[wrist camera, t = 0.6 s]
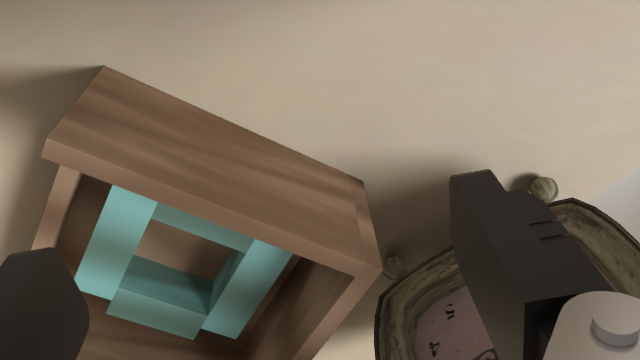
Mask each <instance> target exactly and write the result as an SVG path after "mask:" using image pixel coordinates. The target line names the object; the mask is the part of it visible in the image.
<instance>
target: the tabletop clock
mask: <svg viewBox="0 0 640 360" xmlns="http://www.w3.org/2000/svg"><path fill="white" fill-rule="evenodd" d="M530 192H531V194H532V195H533V196H535V197H537V198H539V199H540V200H542V201H544V202H545V203H546V205H547V206H548V207H549V208H550V210H551V211H552V212H553V213H554V215H555V216H556V217H557V218H558V222H559V223H560V222H561V223H562V225H563V226H564V227H565V229H566V230H567V231H568V232H569V235H570V237H573V239H574V240H575V241H576V242H577V244H578V245H579V246H580V247H581V249H582V250H583V251H584V252H585V254H586V255H587V256H588V258H589V259H590V260H591V261H592V263H593V264H594V265H595V266H596V268H597V269H598V270H599V271H600V273H601V274H602V275H603V276H604V278H605V279H606V280H607V281H608V283H609V284H610V285H611V287H612V288H613V289H614V290H615V292H617V293H622V294H626V295H629V296H633V297H635V298H638V299H640V243H639V242H638V241H637V240H636V239H635V238H634V237H633V236H632V235H630V234H629V233H628V232H627V231H626V230H625V229H624V228H623V227H622V226H621V225H620V224H619V223H617V222H616V221H615V220H613V219H612V218H611V217H609V216H608V215H606V214H605V213H603V212H602V211H601V210H599V209H597V208H596V207H594V206H592V205H589V204H587V203H585V202H582V201H580V200H577V199H575V198H568V199H564V200H559V201H554V202H551V201H553V200H554V199H555V198H556V197H557V195H558V187H557V184H556V182H555V181H554V180H553V179H551V178H548V177H540V178H537V179H536V180H534V181H533V183H532V184H531V187H530ZM406 271H407V265H406V263H405V261H404V260H403V259H401V258H400V257H398V256H391V257H388V258H387V259H386V260H385V261H384V264H383V273H384V274H385V276H386V277H388V278H389V279H391V280H396V281H395V282H394V283H393V284H392V285H391V286H390V287H389V288H388V289H387V290H386V291H385V292H384V293H383V294H381V295H380V297H379V301H378V306H377V310H376V314H375V324H374V348H375V358H376V360H499V358H498V355H497V353H496V351H495V349H494V346H493V344H492V342H491V340H490V337H489V335H488V333H487V331H486V328H485V326H484V324H483V322H482V319H481V317H480V315H479V313H478V310H477V308H476V306H475V304H474V301H473V299H472V297H471V294H470V292H469V290H468V288H467V285H466V283H465V281H464V279H463V276H462V274H461V272H460V270H459V267H458V264H457V261H456V257H455V253H454V248H453V246H451V247H449V248H447V249H446V250H444V251H442V252H441V253H439V254H437V255H435V256H434V257H432V258H430V259H428V260H427V261H425V262H423V263H422V264H420V265H418V266H417V267H415V268H413V269H412V270H410V271H409V272H407V273H406Z"/></svg>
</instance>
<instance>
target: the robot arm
mask: <svg viewBox="0 0 640 360" xmlns="http://www.w3.org/2000/svg"><path fill="white" fill-rule="evenodd" d="M449 190H450V207H451V225H452V241H453V248H454V253H455V257H456V261H457V264H458V267H459V270H460V272H461V274H462V276H463V279H464V281H465V283H466V285H467V288H468V290H469V292H470V294H471V297H472V299H473V301H474V304H475V306H476V308H477V310H478V313H479V315H480V317H481V319H482V322H483V324H484V326H485V328H486V331H487V333H488V335H489V337H490V340H491V342H492V344H493V346H494V349H495V351H496V353H497V355H498V358H499V360H640V299H638V298H635V297H633V296H629V295H626V294H622V293H617V292H615V290H614V289H613V288H612V287H611V285H610V284H609V283H608V281H607V280H606V279H605V278H604V276H603V275H602V274H601V273H600V271H599V270H598V269H597V268H596V266H595V265H594V264H593V263H592V261H591V260H590V259H589V258H588V256H587V255H586V254H585V252H584V251H583V250H582V249H581V247H580V246H579V245H578V244H577V242H576V241H575V240H574V239H573V237H570V235H569V232H568V231H567V230H566V229H565V227H564V226H563V225H562V223H561V222H560V223H559V222H558V218H557V217H556V216H555V215H554V213H553V212H552V211H551V210H550V208H549V207H548V206H547V205H546V203H545V202H544V201H542V200H540V199H539V198H537V197H535V196H533V195H531V194H530V193H528V192H526V191H524V190H523V189H519V190H514V191H508V192H506V191H505V190H504V188H503V187H502V185H501V184H500V182H499V181H498V180H497V178H496V177H495V175H494V174H493V172H492V171H491V170H490V169H486V170H481V171H475V172H469V173H464V174H458V175H453V176H451V177H450V181H449ZM89 322H90V317H89V309H88V306H87V303H86V301H85V299H84V297H83V295H82V293H81V291H80V290H79V288H78V286H77V284H76V282H75V280H74V278H73V277H72V275H71V273H70V271H69V269H68V267H67V265H66V264H65V262H64V260H63V258H62V256H61V255H60V253H59V252H58V251H57V250H56V249H55V248H53V247H46V248H40V249H35V250H29V251H24V252H18V253H13V254H11V255H9V256H8V257H7V258H6V260H5V261H4V262H3V264H2V265H1V267H0V360H76V359H77V356H78V354H79V352H80V349H81V347H82V345H83V342H84V340H85V338H86V335H87V333H88V329H89Z"/></svg>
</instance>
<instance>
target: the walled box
mask: <svg viewBox="0 0 640 360" xmlns="http://www.w3.org/2000/svg"><path fill="white" fill-rule="evenodd" d="M41 158H44V159H47V160H49V161H52V162H54V163H57V164H60V166H59V169H58V172H57V175H56V178H55V181H54V183H53V186H52V189H51V192H50V195H49V198H48V201H47V204H46V207H45V210H44V213H43V216H42V218H41V221H40V224H39V227H38V230H37V233H36V236H35V239H34V242H33V245H32V248H31V250H35V249H40V248H46V247H53V248H55V249H56V250H57V251H58V252H59V253H60V255H61V256H62V258H63V260H64V262H65V264H66V265H67V267H68V269H69V271H70V273H71V275H72V277H73V278H74V280H75V282H76V284H77V286H78V288H79V290H80V291H81V293H82V295H83V297H84V299H85V301H86V303H87V306H88V309H89V317H90V322H89V329H88V333H87V335H86V338H85V340H84V342H83V345H82V347H81V349H80V352H79V354H78V356H77V359H76V360H312V359H313V358H314V356H315V355H316V354H317V353H318V351H319V350H320V349H321V348H322V346H323V345H324V344H325V343H326V341H327V340H328V339H329V338H330V336H331V335H332V334H333V333H334V331H335V330H336V329H337V328H338V326H339V325H340V324H341V323H342V321H343V320H344V319H345V318H346V316H347V315H348V314H349V313H350V311H351V310H352V309H353V308H354V306H355V305H356V304H357V302H358V301H359V300H360V299H361V297H362V296H363V295H364V294H365V292H366V291H367V290H368V289H369V287H370V286H371V285H372V284H373V282H374V281H375V280H376V279H377V277H378V276H379V275H380V274H381V272H382V271H383V266H382V262H381V258H380V253H379V249H378V245H377V240H376V236H375V232H374V227H373V223H372V219H371V214H370V210H369V206H368V201H367V197H366V193H365V188H364V184H363V181H361V180H359V179H356V178H354V177H352V176H350V175H347V174H345V173H343V172H341V171H338V170H336V169H334V168H332V167H330V166H327V165H325V164H323V163H321V162H318V161H316V160H314V159H312V158H309V157H307V156H305V155H303V154H300V153H298V152H296V151H294V150H292V149H289V148H287V147H285V146H283V145H280V144H278V143H276V142H274V141H271V140H269V139H267V138H265V137H262V136H260V135H258V134H256V133H254V132H251V131H249V130H247V129H245V128H242V127H240V126H238V125H236V124H233V123H231V122H229V121H227V120H224V119H222V118H220V117H218V116H216V115H213V114H211V113H209V112H207V111H204V110H202V109H200V108H198V107H195V106H193V105H191V104H189V103H186V102H184V101H182V100H180V99H178V98H175V97H173V96H171V95H169V94H166V93H164V92H162V91H160V90H157V89H155V88H153V87H151V86H148V85H146V84H144V83H142V82H140V81H137V80H135V79H133V78H131V77H128V76H126V75H124V74H122V73H119V72H117V71H115V70H113V69H110V68H108V67H106V66H104V67H103V68H102V69H101V70H100V72H99V73H98V74H97V75H96V77H95V78H94V79H93V80H92V82H91V83H90V84H89V85H88V87H87V88H86V89H85V90H84V92H83V93H82V94H81V95H80V96H79V98H78V99H77V100H76V101H75V103H74V104H73V105H72V106H71V108H70V109H69V110H68V111H67V113H66V114H65V115H64V116H63V118H62V119H61V120H60V121H59V123H58V124H57V125H56V126H55V128H54V129H53V130H52V131H51V133H50V134H49V135H48V136H47V138H46V141H45V144H44V147H43V150H42V153H41Z"/></svg>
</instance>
